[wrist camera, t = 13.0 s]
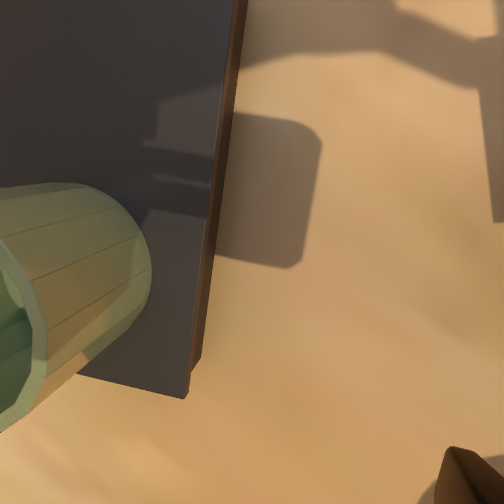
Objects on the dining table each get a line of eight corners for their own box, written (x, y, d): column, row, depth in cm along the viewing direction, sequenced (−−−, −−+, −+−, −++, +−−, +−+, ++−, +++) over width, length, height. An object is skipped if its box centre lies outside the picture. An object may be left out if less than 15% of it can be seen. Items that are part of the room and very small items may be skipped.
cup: (160, 197, 18) (52, 228, 11) (144, 357, 20) (41, 466, 13) (2, 169, 19) (-183, 181, 12) (-1, 323, 21) (-167, 408, 14)
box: (257, -11, 19) (239, -43, 16) (206, 365, 23) (184, 400, 20) (17, -37, 21) (-42, -70, 17) (8, 320, 25) (-41, 346, 21)
